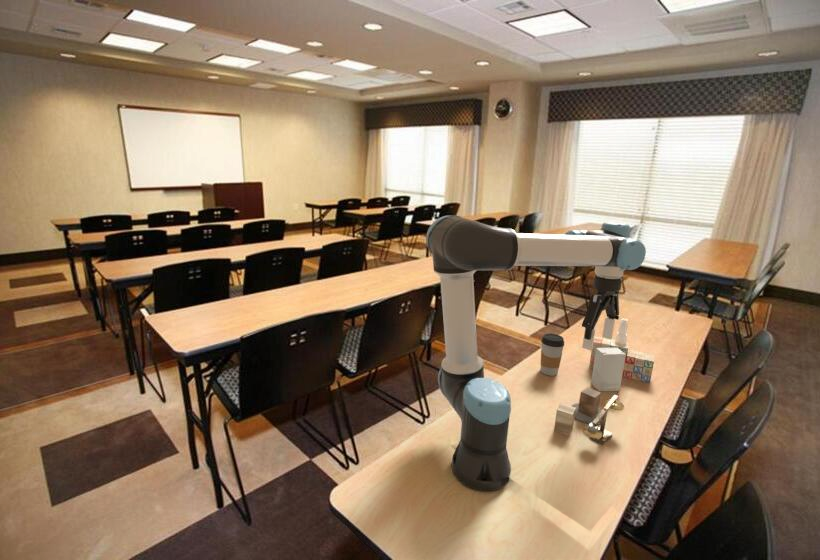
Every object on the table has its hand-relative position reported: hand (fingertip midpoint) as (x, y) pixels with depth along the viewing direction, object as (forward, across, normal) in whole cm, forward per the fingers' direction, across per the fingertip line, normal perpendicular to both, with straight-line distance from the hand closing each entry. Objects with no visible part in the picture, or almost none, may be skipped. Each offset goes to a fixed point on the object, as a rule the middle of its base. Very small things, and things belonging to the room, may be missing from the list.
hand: (597, 343), depth 124 cm
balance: (+25, -8, -8) cm, 27 cm away
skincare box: (+25, +23, +4) cm, 34 cm away
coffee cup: (+25, +17, +23) cm, 38 cm away
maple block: (+25, -13, +1) cm, 28 cm away
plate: (+25, 0, 0) cm, 25 cm away
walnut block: (+24, 0, 0) cm, 24 cm away
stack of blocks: (+25, +39, +5) cm, 47 cm away
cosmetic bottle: (+25, +40, +7) cm, 48 cm away
